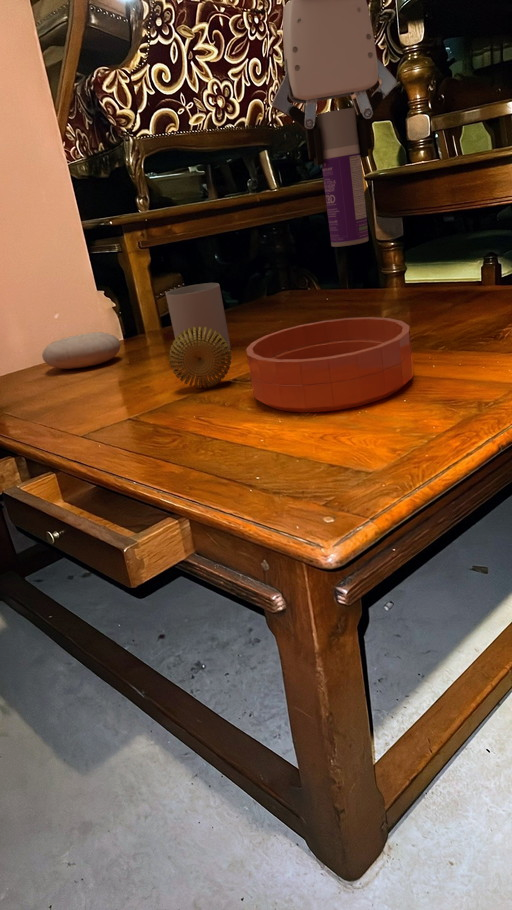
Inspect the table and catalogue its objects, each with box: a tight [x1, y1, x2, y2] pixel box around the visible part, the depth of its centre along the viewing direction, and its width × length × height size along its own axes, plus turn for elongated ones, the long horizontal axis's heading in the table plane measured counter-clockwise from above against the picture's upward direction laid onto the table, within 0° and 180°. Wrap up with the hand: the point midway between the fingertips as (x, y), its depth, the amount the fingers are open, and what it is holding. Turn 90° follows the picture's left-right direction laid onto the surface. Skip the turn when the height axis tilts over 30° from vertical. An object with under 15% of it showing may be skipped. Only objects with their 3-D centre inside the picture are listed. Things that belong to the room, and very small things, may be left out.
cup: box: [165, 282, 232, 356], centre depth 107 cm, size 8×8×10 cm
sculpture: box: [168, 326, 233, 389], centre depth 89 cm, size 8×4×8 cm, turn 91°
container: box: [316, 107, 370, 248], centre depth 84 cm, size 5×5×15 cm
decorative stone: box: [41, 332, 121, 370], centre depth 114 cm, size 13×9×5 cm
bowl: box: [245, 316, 414, 413], centre depth 80 cm, size 19×19×6 cm
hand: (340, 159), depth 83 cm, fingers closed on container, 4 cm apart
